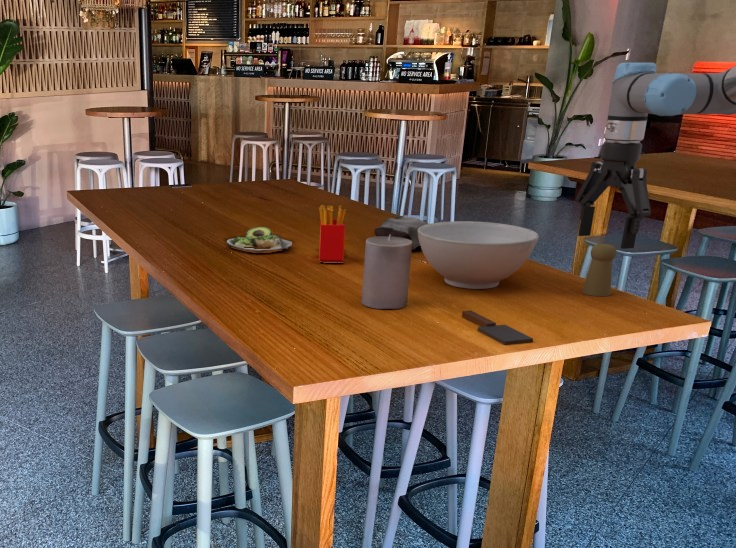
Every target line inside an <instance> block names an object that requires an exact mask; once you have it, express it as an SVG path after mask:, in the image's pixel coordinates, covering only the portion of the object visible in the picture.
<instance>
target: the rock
mask: <svg viewBox="0 0 736 548" xmlns="http://www.w3.org/2000/svg"><path fill="white" fill-rule="evenodd" d="M427 224H429V223H428V222H427V221H423V220H421V219H419V218H418V217H417V218H416V217H414V216H408V215H407V216H406V215H398V216H397V217H395V218H393V217H390V218H389V217H388V218H386V219H384V221H383V222H382V224H381V225H380V226H378V227H375V228H374V230H373V233H374V235H375V237H380V236H389V235H390V234H391V235H390V237H400V238H406V239H409V240H411V241H412V250H411V251H413V250H416V249H417V248H418V247H420V242H419V238H418V228H419V227H421V226H423V225H427Z"/></svg>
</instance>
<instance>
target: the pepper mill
mask: <svg viewBox="0 0 736 548" xmlns="http://www.w3.org/2000/svg"><path fill="white" fill-rule="evenodd" d="M616 256H617V248H616V246H614V245H613V244H610V243H596V244H593V246H592V247H591V249H590V257H591V262H590V265H589V268H588V271H587V274H586V277H585V281H584V283H583V286H582V290H581V292H582V294H584V295H587V296H592V297H609V296H611V295H612V281H613V280H612V279H613V278H612V277H613V276H612V275H613V260H615V258H616Z"/></svg>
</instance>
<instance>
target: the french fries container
mask: <svg viewBox="0 0 736 548" xmlns="http://www.w3.org/2000/svg"><path fill="white" fill-rule="evenodd" d="M318 210H319V217H320V223H319V245H318V248H319V249H318V251H319V252H318V262H319V261H322V262H337V263H338V262H340V263H341V262H343V263H344V258H345V257H344V256H345V237H346V222H345V219H346V216H347V212H348V211H347V209H343V206H342V205H338V212H337V218H334V216H335V215H334V213H335V210H334V205H333V204H329V205H325V204H321V205H320V207H318Z"/></svg>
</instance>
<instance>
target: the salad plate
mask: <svg viewBox="0 0 736 548" xmlns="http://www.w3.org/2000/svg"><path fill="white" fill-rule="evenodd" d="M226 245H227V246H228V247H229V246H230V247H234V248H237V249H241V250H246V251H255V252H263V251H273V250H283V249H285V250H288V249H289V248H290V247H292V245H293V241H290V240H286V239H283V238H281V237H280V236H279V235H277V234H273V232H272V230H271V229H270V228H268V227H266V226H257V227H253V228H250V229H248V230H247V231H246V232H245V235H244V236H243V237H242V236H241V237H240V236H236V237H234V238H229V239H227V240H226ZM230 247H229V248H230ZM244 247H259V248H270V249H254V248H244ZM283 251H284V250H283Z"/></svg>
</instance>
